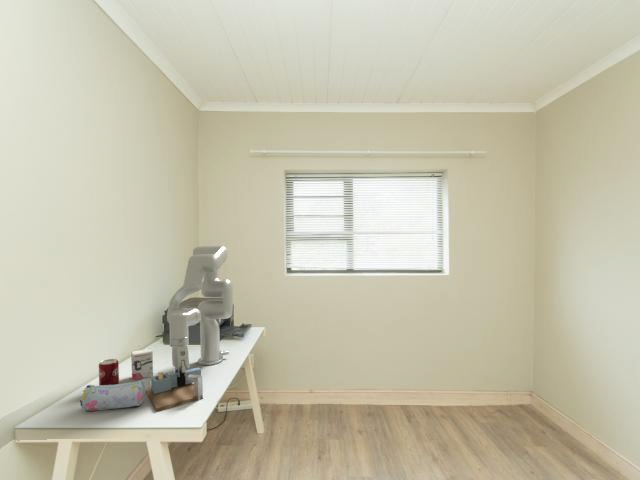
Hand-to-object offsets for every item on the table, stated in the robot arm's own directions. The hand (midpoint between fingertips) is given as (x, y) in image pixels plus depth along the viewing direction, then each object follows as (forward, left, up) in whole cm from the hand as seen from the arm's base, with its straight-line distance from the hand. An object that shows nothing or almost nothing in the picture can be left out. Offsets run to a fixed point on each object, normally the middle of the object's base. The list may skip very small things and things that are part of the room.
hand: (180, 383), depth 151 cm
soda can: (+25, -18, -2) cm, 30 cm away
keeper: (-2, +14, -2) cm, 14 cm away
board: (+4, +5, -2) cm, 7 cm away
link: (+1, 0, 0) cm, 1 cm away
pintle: (+8, 0, -2) cm, 8 cm away
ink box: (+11, -25, -2) cm, 27 cm away
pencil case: (+25, +2, -2) cm, 25 cm away
